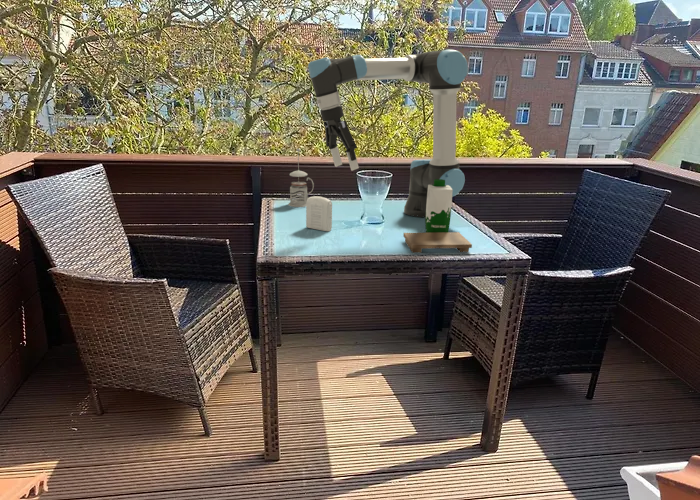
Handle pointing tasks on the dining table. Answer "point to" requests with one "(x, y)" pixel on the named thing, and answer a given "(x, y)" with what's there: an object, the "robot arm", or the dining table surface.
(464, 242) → the stand
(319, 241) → the dining table surface
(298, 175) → the french press
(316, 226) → the photo printer
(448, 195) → the soya milk
